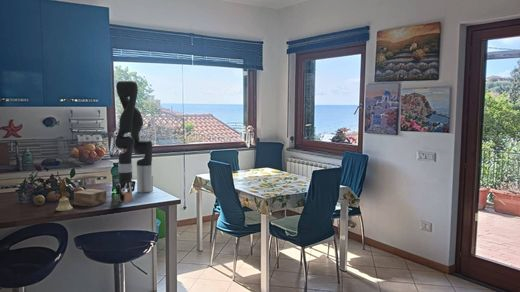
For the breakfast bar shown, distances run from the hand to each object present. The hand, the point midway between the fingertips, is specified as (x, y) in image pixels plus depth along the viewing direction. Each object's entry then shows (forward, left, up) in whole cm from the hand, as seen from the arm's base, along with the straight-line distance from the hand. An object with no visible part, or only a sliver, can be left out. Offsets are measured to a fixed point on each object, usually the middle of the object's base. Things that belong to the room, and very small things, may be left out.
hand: (125, 199), depth 241 cm
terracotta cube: (0, 0, -1) cm, 1 cm away
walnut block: (+14, -13, -1) cm, 19 cm away
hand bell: (+30, -14, -1) cm, 33 cm away
